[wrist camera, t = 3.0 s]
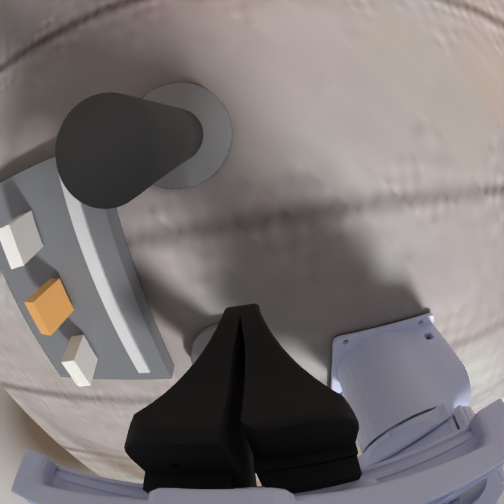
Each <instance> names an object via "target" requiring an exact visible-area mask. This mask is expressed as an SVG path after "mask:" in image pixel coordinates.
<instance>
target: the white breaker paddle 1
mask: <svg viewBox="0 0 504 504" xmlns="http://www.w3.org/2000/svg"><path fill="white" fill-rule="evenodd" d="M0 241H1V244H2V247H3V250H4V252H5V255H6V257H7V260H8V262H9V265H10V267H11V269H14V268H17V267H21V266H24V265H25V264H26V263H27V262H28V261H29V260H30V259H31V258H32V257H33V256H34V255H35V254H36V253H37V252H38V251H39V250H40V249H41V248H42V247H43V244H42V241H41V238H40V236H39V233H38V230H37V227H36V224H35V221H34V217H33V214H32V211H29V212H26V213H24V214H21V215H19V216H17V217H16V218H14V219H12V220H11V221H9V222H8V223H6V224H5V225H3V226H2V227H0Z"/></svg>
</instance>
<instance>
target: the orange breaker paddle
mask: <svg viewBox="0 0 504 504" xmlns="http://www.w3.org/2000/svg"><path fill="white" fill-rule="evenodd" d="M24 303H25V305H26V307H27V309H28V311H29V313H30V315H31V316H32V318H33V320H34V322H35V324H36V326H37V327H38V329H39V331H40V333H41V334H44V335H50V336H51V335H52V334H53V333H54V332H55V331H56V330H57V328H58V327H59V326H60V325H61V324H62V323H63V322H64V321H65V320H66V318H67V317H68V316H69V315H70V314H71V313H72V312H73V311H74V309H73V307H72V305H71V302H70V300H69V298H68V296H67V294H66V292H65V290H64V287H63V285H62V283H61V280H60V278H58V279H49V280H48V281H47V282H46V283H44V284H43V285H42V286H41V287H40V288H39V289H38V290H36V291H35V292H34V293H33V294H32V295H31V296H30V297H29V298H28V299H27V300H25V301H24Z"/></svg>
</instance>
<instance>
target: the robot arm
mask: <svg viewBox="0 0 504 504" xmlns="http://www.w3.org/2000/svg"><path fill="white" fill-rule="evenodd" d="M433 320H434V315H433V314H432V313H427V314H424V315H421V316H417V317H414V318H410V319H407V320H403V321H399V322H396V323H392V324H388V325H384V326H380V327H376V328H372V329H368V330H364V331H359V332H355V333H351V334H346V335H341V336H338V337H336V338H334V339H333V343H332V371H331V389H330V388H329V387H327V386H326V385H324V384H323V383H321V382H320V381H318V380H317V379H315V378H314V377H313V376H312V375H310V374H309V373H308V372H307V371H306V370H304V369H303V368H302V367H301V366H300V365H299V364H297V363H296V362H295V361H294V360H293V359H292V358H291V357H290V355H289V354H288V353H287V352H286V351H285V350H284V349H283V348H282V346H281V345H280V344H279V343H278V341H277V340H276V339H275V337H274V336H273V334H272V333H271V331H270V330H269V328H268V326H267V325H266V323H265V321H264V319H263V317H262V315H261V313H260V310H259V305H257V304H250V305H243V306H236V307H228V308H226V309H225V311H224V313H223V316H222V318H221V320H220V322H219V324H218V326H217V328H216V330H215V332H214V333H213V335H212V337H211V339H210V340H209V342H208V344H207V345H206V347H205V348H204V350H203V351H202V353H201V354H200V356H199V357H198V358H197V360H196V361H195V362H194V364H193V365H192V366H191V367H190V369H189V370H188V371H187V372H186V373H185V374H184V375H183V376H182V377H181V379H180V380H179V381H178V382H177V383H176V384H175V385H174V386H172V387H171V388H170V389H169V390H168V391H167V392H166V393H164V394H163V395H162V396H161V397H159V398H158V399H157V400H155V401H154V402H153V403H151V404H150V405H148V406H147V407H145V408H144V409H142V410H141V411H139V412H137V413H136V414H134V416H133V419H132V421H131V424H130V427H129V431H128V434H127V438H126V442H125V447H124V448H125V452H126V453H127V454H128V455H129V457H130V458H131V459H132V460H133V461H134V462H135V463H137V464H138V465H139V466H140V467H141V468H142V469H143V470H144V471H145V477H144V483H143V484H139V483H132V482H125V481H120V480H114V479H109V478H104V477H99V476H95V475H91V474H87V473H82V472H79V471H75V470H71V469H68V468H64V467H61V466H58V465H56V464H55V463H54V462H53V461H52V460H51V459H50V458H48V457H46V456H45V455H42V454H40V453H37V452H34V451H31V450H28V449H26V451H25V454H24V456H23V459H22V461H21V464H20V466H19V469H18V472H17V475H16V477H15V480H14V483H13V486H12V489H11V490H12V492H13V493H15V494H17V495H18V496H19V497H21V498H23V499H24V500H26V501H27V502H29V503H31V504H497V503H498V501H499V500H500V498H501V496H502V495H503V492H504V470H503V467H502V466H503V465H504V403H503V401H502V400H501V399H498V400H496V401H495V402H493V403H492V404H490V405H488V406H487V407H485V408H483V409H482V410H480V411H479V412H478V413H476V414H475V413H474V411H473V410H472V409H471V407H469V406H468V404H469V400H470V394H471V388H470V381H469V377H468V374H467V371H466V369H465V367H464V365H463V364H462V362H461V361H460V359H459V358H458V357H457V355H456V354H455V352H454V351H453V350H452V348H451V347H450V346H449V344H448V343H447V342H446V340H445V339H444V338H443V336H442V335H441V334H440V332H439V331H438V330H437V329H436V327H435V326H434V325H433ZM419 321H420V322H419ZM344 340H346V341H344ZM356 439H358V442H359V446H360V449H361V452H362V455H361V456H359V457H357V454H358V450H357V447H356V444H355V442H356ZM255 473H256V474H257V476H258V478H259V480H260V482H261V484H262V486H259V487H257V484H256V476H255Z"/></svg>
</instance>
